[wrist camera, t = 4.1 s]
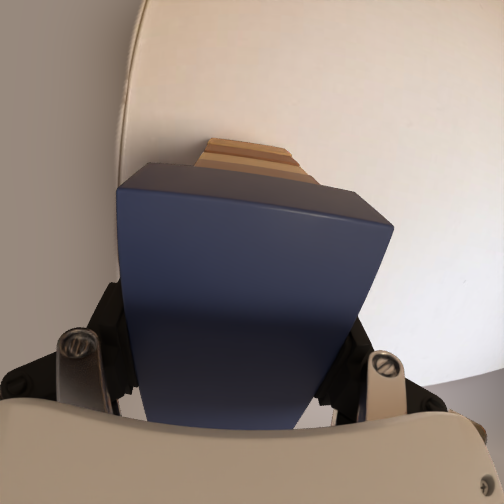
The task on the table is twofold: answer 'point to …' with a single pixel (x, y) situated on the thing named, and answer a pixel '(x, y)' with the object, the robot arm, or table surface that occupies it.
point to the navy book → (239, 290)
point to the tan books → (252, 159)
